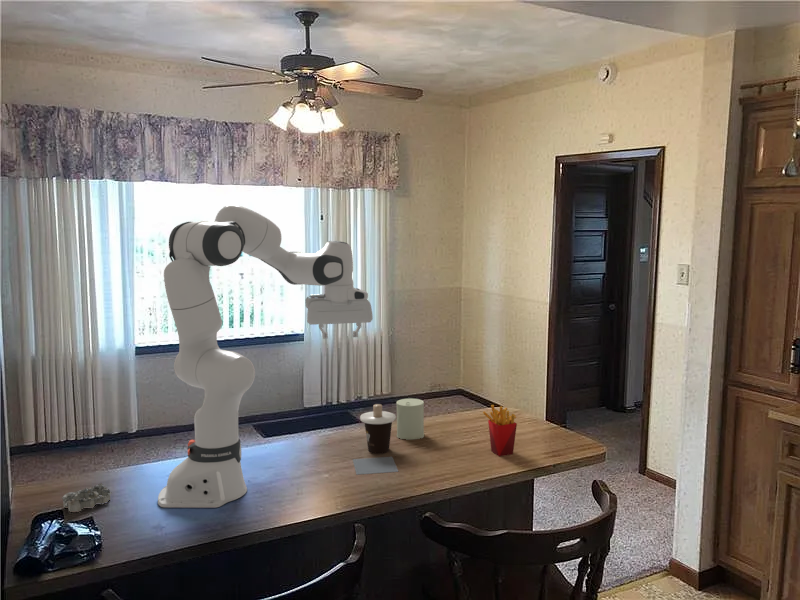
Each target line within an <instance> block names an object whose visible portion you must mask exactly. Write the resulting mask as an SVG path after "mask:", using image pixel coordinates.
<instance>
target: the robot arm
mask: <svg viewBox="0 0 800 600" xmlns="http://www.w3.org/2000/svg"><path fill="white" fill-rule="evenodd" d="M281 231H282V230H281V229H280V228H279V226H277V225H276V223H274V222H273V221H272V220H270V219H269V218H267V217H266V216H264V215H262V214H260V213H258V212H257V211H254V210H252V209H249V208H247V207H244V206H241V205H237V204H233V203H232V204H227V205H225V206H223V207H222V208H221V209H220V210H219V211H218V212H217V214H216V216H215V219H214V221H208V220H204V221H203V220H200V221H198V220H197V221H186V222H182V223H180V224H178V225H176V226H175V227H174V228H173V229H172V230H171V232H170V234H169V238H168V249H169V253H168V257H169V259H170V262H169V263H168V264H167V265H166V266H165V267H164V269H163V281H164V282H163V283H164V288H165V295H166V297H167V302H168V305H169V309H170V310H171V315H172V318H173V321H174V324H175V328H176V330H177V335H178V344H179V345H178V347H179V349H178V351H179V352H178V353H177V355H176V356H175V359H174V363H173V371H174V373H175V375H176V377H177V378H178V379H179V380H181V381H182V382H183V383H185V384H186V385H188V386H190V387H193V388H197V389H202V390H204V391H203V392H204V398H203V401H202V406H201V407H199V408H197V410H196V411H195V414H194V417H193V421H194V423H193V424H194V439H189V441H188V443H187V458H185V459H184V460H183V461H182V462H180V463H179V464H178V465H176V466H175V467H174V468H173V469H172V470H171V472H170V473H169V475H168V478H167V482H166V485H165V487H164V486H163V488H162V489H161V490H160V492H159V493H158V495H157V504H158V506H160V507H161V508H189V509H190V508H195V509H196V508H197V509H198V508H199V509H200V508H204V509H205V508H219V507H222V506H224V505H225V504H227V503H229V502H233V501H235V500H237V499H239V498H241V497H243V496H245V494H246V493H247V492H248V487H247V484H246V481H245V479H244V478H245V477H244V475H243V469H242V462H241V461H242V444H241V439H240V437H239V409H240V405H241V401H242V398H243V396H244V394H245V393H246V392H247V391H248V390H249V389H251V387H252V385H253V383H254V381H255V376H256V369H255V366H254V364H253V362H252V360H251V359H249V358H248V357H246V356H244V355H242V354H240V353H239V352H236V351H232V350H225V349H221V348H220V347H219V345H218V337H217V336H218V333H219V331H220V330H221V327H222V325H223V319H222V315H221V313H220V310H219V309H220V308H219V306H218V302H217V300H216V296H215V293H214V290H213V287H212V285H211V284H212V283H211V281H210V270H211V267H213V266H215V267H224V266H225V267H226V266H230V265H232V264H234V263H236V262H237V261H238V260H239V259H240V257H241V255H242V254H243V253H244V254H247V255H249V256H251V257H253V258H256V259H258V260H260V261H261V262H263V263H265V264H267V265H268V266H270V267H272V268H273V269H274V270H276V271H278V273H279V274H280V275H281V277H282V278H283V279H284V281H286V282H287V283H288V284H290V285H296V286H297V285H298V286H299V285H308V286H319V287H320V286H322V287H323V286H324V293H318V294H310V295H308V296H307V297H306V298H305V308H306V309H307V313H306V321H307V324H309V326H310V325H312V326H314V325H318V328H319V330H320V332H321V334H322V340H323V339H328V332H327V331H324V329H323V328H324V325H333V324H334V325H336V324H337V325H339V324H355V325H356V328H355V330H352V337H353V338H359V332H360V329H361V328H362V324H364V323H371V322H372V321H373V318H374V317H373V316H374V315H373V310H372V304H371V302H370V301H369V299H368V298H369V293H368V292H367V291H366V290H363V289H360V288H357V287H354V280H353V271H354V261H353V259H354V258H353V250H352V247H351V245H350V244H349V243H348V242H344V241H341V240H340V241H339V240H328V241H326V242H325V245H324V246H323V247H322V248H321V249H320V250H318V251H316V252H301V251H300V252H299V251H288V250H286V249H285V248H283V247H281V243H282V233H281Z"/></svg>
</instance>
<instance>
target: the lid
mask: <svg viewBox="0 0 800 600" xmlns="http://www.w3.org/2000/svg"><path fill="white" fill-rule="evenodd" d="M372 408H373V409H372V411H368V412H367V411H366V412H364V413H361V415H359V420H360V422H362V423H364V424H365V423H368V424H386V423H390V422H392V423H393V422H395V420H397V415H396V414H395V413H393V412H389V411H385V410H383V405H382V404H381V403H375V404H373V406H372Z"/></svg>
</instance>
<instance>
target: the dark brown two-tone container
mask: <svg viewBox="0 0 800 600" xmlns="http://www.w3.org/2000/svg"><path fill="white" fill-rule="evenodd" d="M392 423H393V422H390V423H386V424H368V423H364V429H365V437H366V442H367V451H368V452H369V453H371V454H376V455H380V454H381V455H383V454H386V453H388V452H389V451H390V445H391V435H392V426H393V425H392Z"/></svg>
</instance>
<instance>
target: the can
mask: <svg viewBox="0 0 800 600" xmlns="http://www.w3.org/2000/svg"><path fill="white" fill-rule="evenodd" d="M424 403H425V402H424V400H422V399H419V398H412V397H411V398H402V399H399V400H396V438H398V439H399V438H400V440H402V439H406V441H407V440H409V441H410V440H421V439H423V438H424V437H425V429H424V428H425V425H424V424H425V423H424V422H425V421H424V420H425V419H424V418H425V417H424V415H425V412H424V411H425V409H424V406H425V404H424ZM420 438H421V439H420Z"/></svg>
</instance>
